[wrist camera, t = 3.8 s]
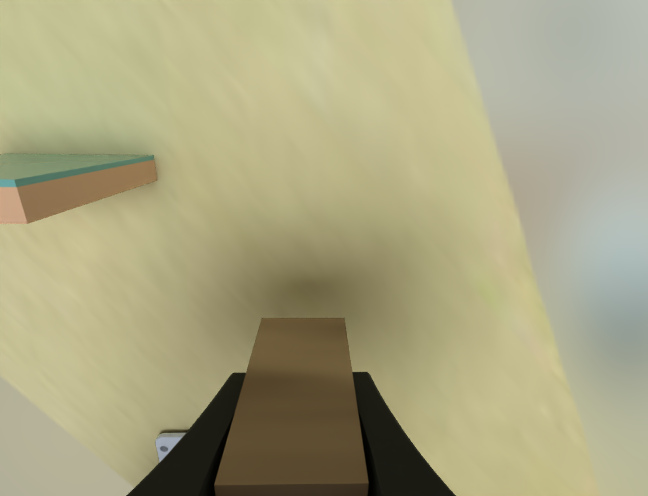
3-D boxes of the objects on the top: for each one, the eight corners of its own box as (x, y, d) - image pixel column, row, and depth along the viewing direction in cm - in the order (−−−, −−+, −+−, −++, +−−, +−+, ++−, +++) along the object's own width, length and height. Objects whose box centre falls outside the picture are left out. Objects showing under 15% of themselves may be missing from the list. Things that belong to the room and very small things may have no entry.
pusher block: (341, 383, 13) (360, 576, 8) (265, 384, 13) (227, 578, 7) (344, 318, 12) (368, 483, 7) (261, 317, 12) (213, 485, 6)
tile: (157, 180, 17) (27, 223, 9) (14, 178, 16) (-239, 222, 9) (153, 155, 16) (14, 179, 9) (6, 153, 16) (-266, 177, 9)
